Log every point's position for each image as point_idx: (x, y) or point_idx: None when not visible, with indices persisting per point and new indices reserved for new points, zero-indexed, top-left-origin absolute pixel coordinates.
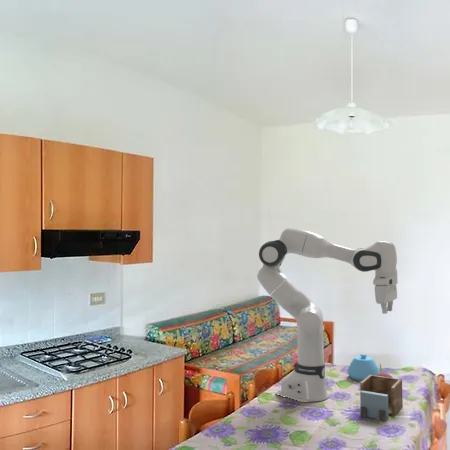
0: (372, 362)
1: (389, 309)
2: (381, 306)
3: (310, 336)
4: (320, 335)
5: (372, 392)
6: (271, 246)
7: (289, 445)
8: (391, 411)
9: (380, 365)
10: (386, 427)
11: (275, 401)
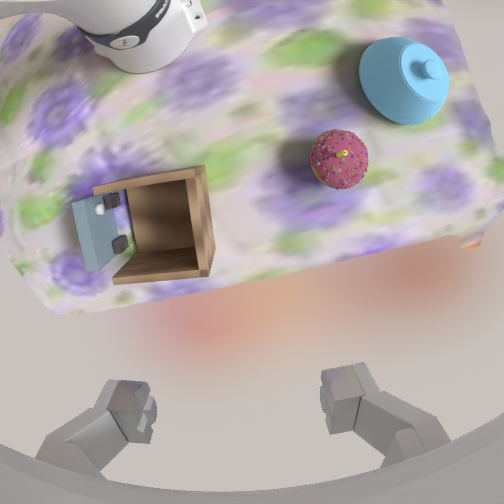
0: (417, 102)
1: (328, 398)
2: (59, 430)
3: None
4: (15, 13)
5: (87, 231)
6: None
7: None
8: (147, 247)
9: (342, 154)
10: (80, 264)
11: None
